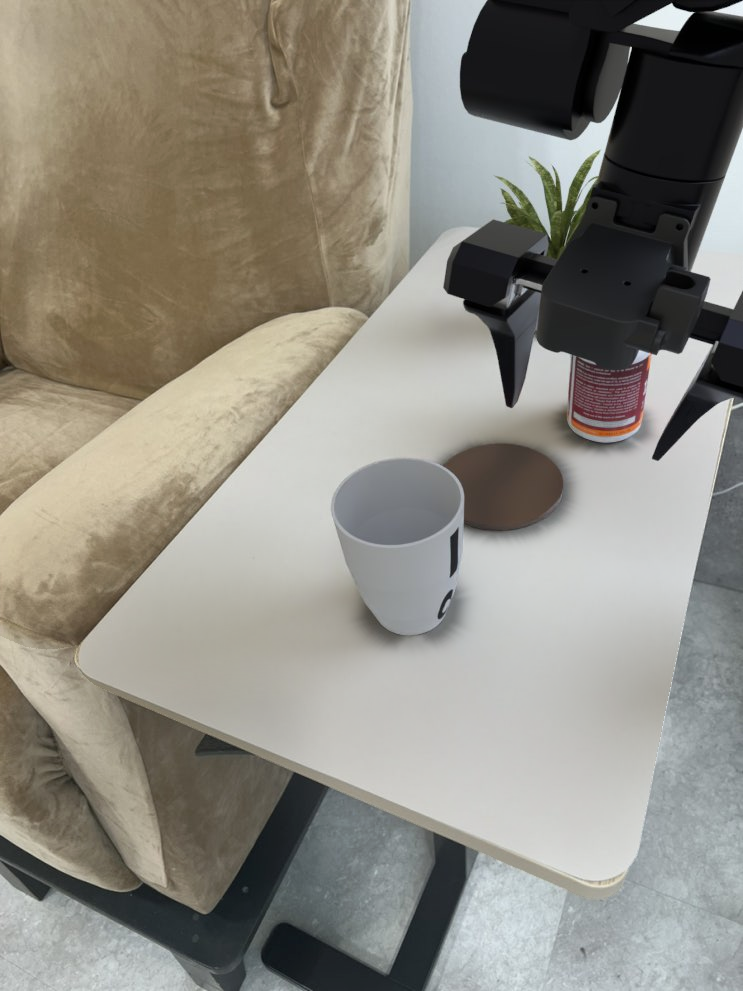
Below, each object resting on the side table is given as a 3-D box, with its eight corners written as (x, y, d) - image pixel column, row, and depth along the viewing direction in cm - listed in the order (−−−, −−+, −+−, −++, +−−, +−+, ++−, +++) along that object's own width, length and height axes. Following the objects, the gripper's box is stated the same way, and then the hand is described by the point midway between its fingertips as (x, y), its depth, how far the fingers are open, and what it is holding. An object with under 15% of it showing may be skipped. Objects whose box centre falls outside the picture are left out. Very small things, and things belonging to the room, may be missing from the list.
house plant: (625, 283, 83) (643, 123, 73) (645, 349, 73) (670, 176, 63) (493, 290, 86) (491, 136, 75) (494, 356, 75) (493, 189, 65)
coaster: (565, 450, 64) (565, 445, 63) (560, 535, 56) (560, 530, 56) (446, 444, 66) (445, 440, 66) (426, 525, 59) (426, 520, 58)
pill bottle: (655, 435, 64) (674, 316, 56) (585, 452, 63) (596, 334, 56) (619, 395, 68) (633, 281, 61) (554, 411, 68) (560, 297, 60)
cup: (472, 651, 50) (467, 543, 43) (348, 656, 50) (325, 551, 44) (466, 560, 56) (460, 453, 49) (355, 566, 56) (336, 461, 50)
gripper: (414, 156, 34) (383, 439, 44) (866, 270, 28) (711, 571, 38) (508, 111, 42) (464, 361, 52) (879, 193, 36) (747, 460, 46)
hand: (581, 430), depth 47 cm, fingers open, 9 cm apart
